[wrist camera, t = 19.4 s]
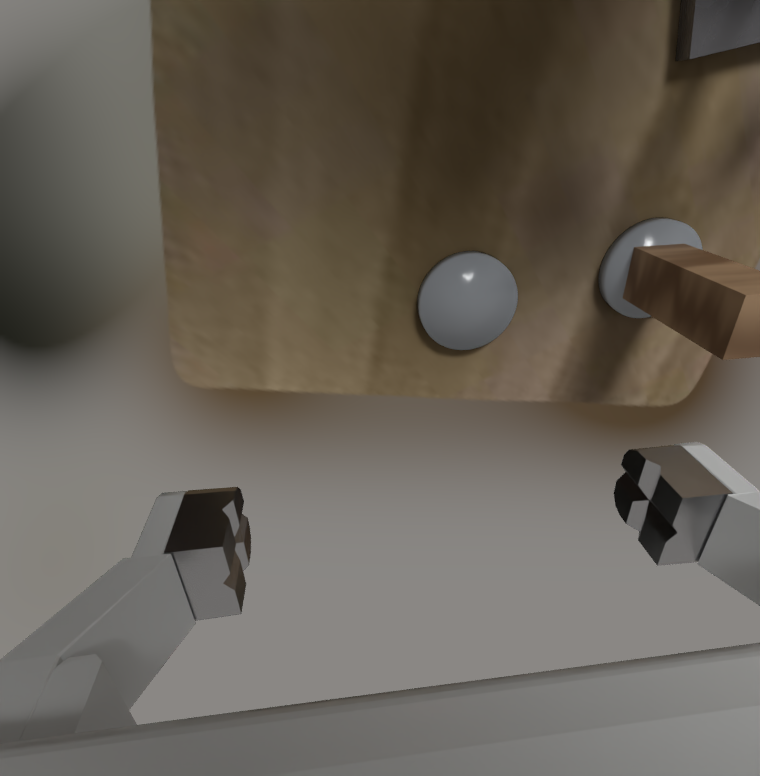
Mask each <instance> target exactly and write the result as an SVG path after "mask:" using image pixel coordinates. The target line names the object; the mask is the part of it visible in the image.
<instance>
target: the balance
mask: <svg viewBox="0 0 760 776" xmlns="http://www.w3.org/2000/svg"><path fill="white" fill-rule="evenodd" d="M759 42H760V0H681V8H680V19H679V29H678V40H677V51H676V61H681V60H688V59H693V58H697V57H701V56H705V55H709V54H713V53H718V52H722V51H726V50H730V49H734V48H738V47H742V46H746V45H751V44H755V43H759Z"/></svg>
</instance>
